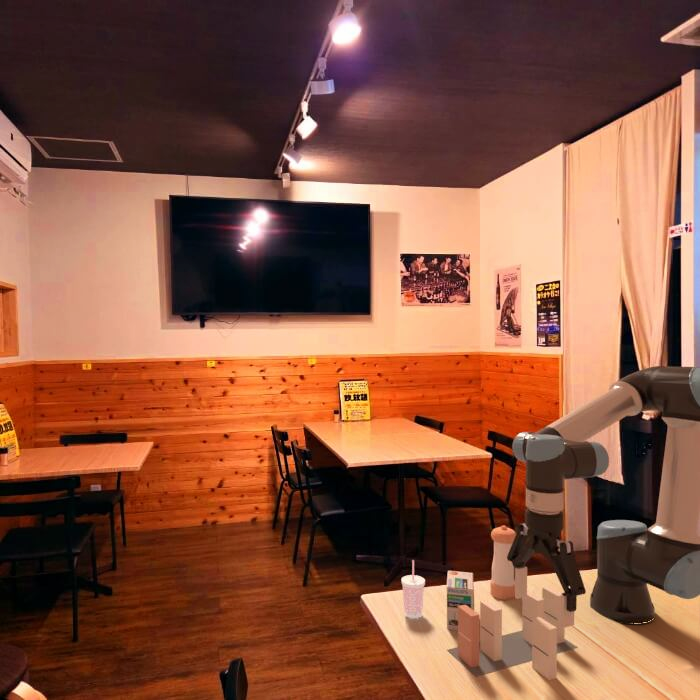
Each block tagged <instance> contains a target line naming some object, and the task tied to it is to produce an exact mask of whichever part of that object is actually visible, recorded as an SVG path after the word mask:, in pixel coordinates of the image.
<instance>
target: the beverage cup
mask: <svg viewBox="0 0 700 700" xmlns="http://www.w3.org/2000/svg"><path fill="white" fill-rule="evenodd" d="M411 563H412V567H411V568H412V570H411V573H412V574H409V575H405V576H402V577H401V585H402V599H403V600H402V601H403V613H404V614H405V615H404V616H405V617H406V616H407V617H410V618H418V617H421V616H423V605H424V590H425V586H426V579H425V578H424V577H422V576H420V575H417V574H416V575H415V560H414V559H412V560H411ZM407 617H406V618H407ZM410 618H409V619H410ZM421 618H422V617H421ZM418 619H419V618H418Z"/></svg>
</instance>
